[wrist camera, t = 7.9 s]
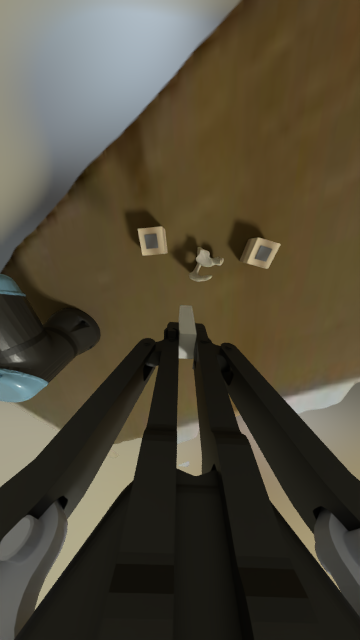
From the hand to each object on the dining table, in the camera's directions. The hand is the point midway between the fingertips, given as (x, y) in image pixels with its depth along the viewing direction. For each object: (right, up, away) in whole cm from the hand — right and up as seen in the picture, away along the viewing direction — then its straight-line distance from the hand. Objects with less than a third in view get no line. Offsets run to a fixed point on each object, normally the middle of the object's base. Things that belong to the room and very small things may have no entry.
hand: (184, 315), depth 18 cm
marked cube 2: (-6, +18, +16) cm, 25 cm away
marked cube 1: (+17, +16, +16) cm, 28 cm away
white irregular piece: (+5, +15, +18) cm, 23 cm away
